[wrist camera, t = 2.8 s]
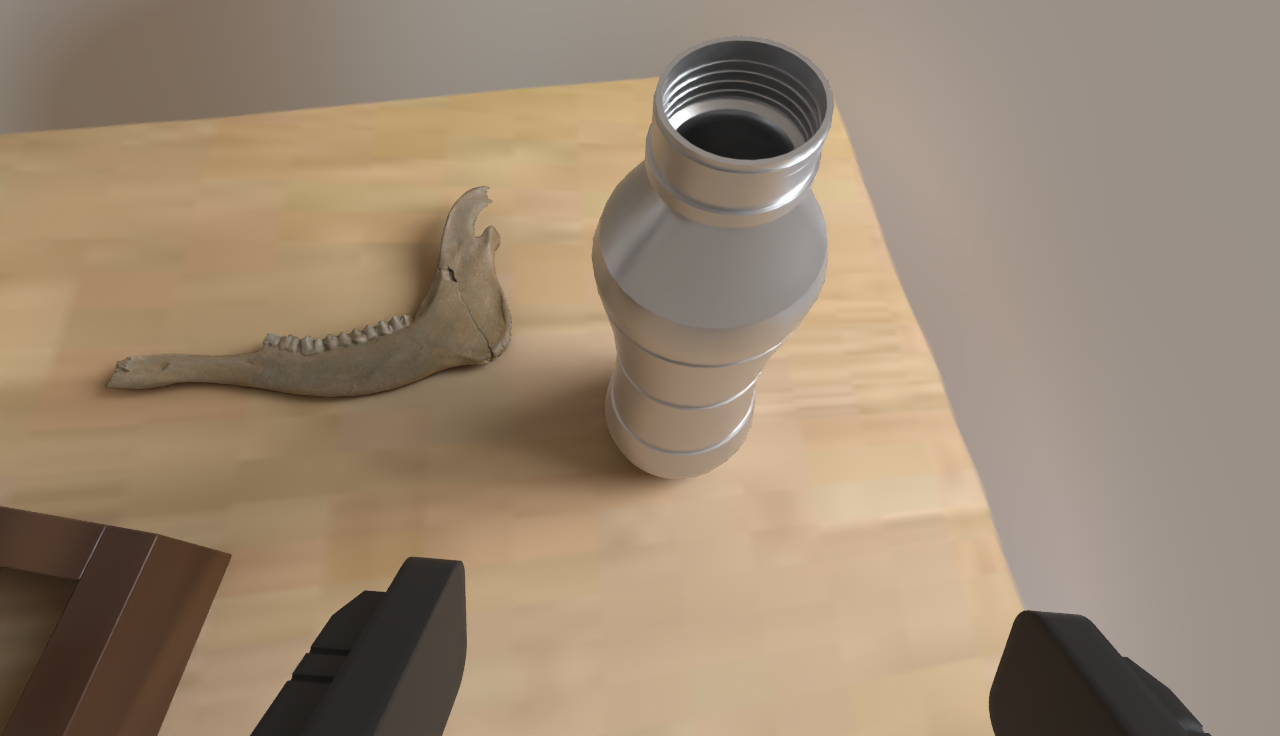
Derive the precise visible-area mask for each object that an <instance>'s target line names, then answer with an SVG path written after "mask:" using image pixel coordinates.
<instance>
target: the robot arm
mask: <svg viewBox="0 0 1280 736" xmlns="http://www.w3.org/2000/svg"><path fill="white" fill-rule="evenodd" d="M466 649H467V632H466V597H465V570H464V565H463V563H462V561H457V560H445V559H433V558H422V557H409V558H407V559H406V560H405V562H404V563H403V565H402V566H401V568H400V570H399V571H398V573H397V575H396V576H395V578H394V580H393V581H392V583H391V585H390V586H389V588H388V590H387V591H386V592H377V591H363V592H362V593H361V594H360V595H358V596H357V597H356V598H354V599H353V600H352V601H350V602H349V603H348V604H346V605H345V606H344V607H343V608H341V609H340V610H339V611H337V612H336V613H335V614H333V615H332V616H331V618H330V619H329V621H328V622H327V624H326V625H325V627H324V628H323V630H322V631H321V633H320V634H319V635H318V637H317V638H316V640H315V641H314V643H313V644H312V646H311V650H310V652H309V653H306V654H305V656H304V657H303V659H302V660H301V662H300V663H299V665H298V666H297V668H296V669H295V671H294V672H293V673H292V674H293V675H292V679H291V681H287V682H286V684H285V685H284V687H283V688H282V690H281V691H280V693H279V694H278V695H277V697H276V698H275V700H274V701H273V703H272V704H271V706H270V707H269V709H268V710H267V712H266V713H265V714H264V716H263V717H262V719H261V720H260V722H259V723H258V725H257V726H256V728H255V729H254V731H253V732H252V733H251V735H250V736H442V734H443V731H444V729H445V726H446V723H447V720H448V718H449V715H450V712H451V710H452V707H453V704H454V701H455V699H456V696H457V693H458V690H459V687H460V684H461V680H462V676H463V671H464V666H465V659H466ZM989 712H990V719H991V724H992V727H993V730H994V733H995V736H1211V735H1210V734H1209V733H1204V732H1203V729H1202V727H1203V726H1202V725H1201V724H1200V722H1199V721H1198V720H1197V719H1196V718H1195V717H1194V716H1193V715H1192V713H1190V711H1189V710H1188V709H1187V708H1186V707H1185V706H1184V704H1183V703H1182V702H1181V701H1180V700H1179V699H1178V698H1177V697H1176V696H1175V695H1174V693H1173V692H1172V691H1171V690H1170V689H1169V688H1168V687H1166V686H1165V685H1164V684H1162V683H1161V682H1160V681H1158V680H1157V679H1156V678H1154V677H1153V676H1152V675H1150V674H1149V673H1148V672H1146V671H1145V670H1144V669H1142V668H1141V667H1140V666H1138V665H1137V664H1136V663H1134V662H1133V661H1132V660H1130V659H1129V658H1128V657H1122V656H1121V655H1120V654H1119V653H1118V652H1117V650H1116V649H1115V648H1114V647H1113V646H1112V645H1111V643H1110V642H1109V641H1108V640H1107V639H1106V638H1105V636H1104V635H1103V634H1102V633H1101V632H1100V631H1099V630H1098V628H1097V627H1096V626H1095V625H1094V624H1093V623H1092V622H1091V621H1090V620H1089V619H1087V618H1086V617H1084V616H1082V615H1076V614H1064V613H1052V612H1039V611H1029V610H1027V611H1023V612H1021V613H1020V614H1018V616H1017V617H1016V619H1015V621H1014V623H1013V626H1012V629H1011V632H1010V635H1009V637H1008V640H1007V643H1006V646H1005V649H1004V652H1003V655H1002V658H1001V661H1000V664H999V666H998V669H997V672H996V675H995V678H994V681H993V684H992V687H991V690H990V696H989Z"/></svg>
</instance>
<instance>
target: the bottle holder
mask: <svg viewBox="0 0 1280 736" xmlns="http://www.w3.org/2000/svg"><path fill="white" fill-rule="evenodd" d="M231 556H232V555H231V554H228V553H225V552H221V551H217V550H214V549H210V548H207V547H203V546H199V545H196V544H192V543H188V542H185V541H181V540H178V539H174V538H170V537H167V536H163V535H159V534H155V533H149V532H143V531H138V530H132V529H127V528H121V527H115V526H110V525H109V526H108V525H104V524H98V523H93V522H87V521H81V520H76V519H70V518H64V517H59V516H53V515H48V514H42V513H36V512H31V511H25V510H19V509H14V508H8V507H3V506H0V566H1V567H6V568H12V569H17V570H23V571H28V572H34V573H39V574H45V575H50V576H55V577H61V578H66V579H72V580H77V581H79V583H78V585H77V587H76V589H75V591H74V593H73V595H72V597H71V599H70V601H69V603H68V605H67V607H66V609H65V611H64V613H63V615H62V617H61V619H60V621H59V623H58V625H57V627H56V629H55V631H54V633H53V635H52V637H51V639H50V641H49V643H48V645H47V647H46V649H45V651H44V652H43V654H42V656H41V658H40V660H39V662H38V664H37V666H36V668H35V670H34V672H33V674H32V676H31V678H30V680H29V682H28V684H27V686H26V688H25V690H24V692H23V694H22V696H21V698H20V700H19V702H18V704H17V706H16V708H15V710H14V712H13V714H12V716H11V718H10V720H9V722H8V724H7V726H6V728H5V730H4V732H3V734H2V736H157V734H158V732H159V730H160V727H161V725H162V722H163V720H164V717H165V715H166V713H167V710H168V708H169V705H170V703H171V701H172V698H173V696H174V693H175V691H176V689H177V686H178V684H179V681H180V679H181V676H182V674H183V672H184V669H185V667H186V664H187V662H188V660H189V657H190V655H191V652H192V650H193V648H194V645H195V643H196V640H197V638H198V635H199V633H200V631H201V628H202V626H203V623H204V621H205V619H206V616H207V614H208V611H209V609H210V607H211V604H212V602H213V599H214V597H215V594H216V592H217V590H218V587H219V585H220V582H221V580H222V578H223V575H224V573H225V570H226V568H227V566H228V563H229V561H230V558H231Z"/></svg>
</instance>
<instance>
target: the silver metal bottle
mask: <svg viewBox="0 0 1280 736" xmlns="http://www.w3.org/2000/svg"><path fill="white" fill-rule="evenodd" d="M833 109H834V102H833V93H832V90H831V88H830V85H829V82H828V80H827V79H826V77H825V76H824V74H823V73H822V71H821V70H820V69H819V68H818V67H817V66H816V65H815V64H814V63H813V62H812V61H811V60H810V59H808V58H807V57H805V56H804V55H803V54H801V53H800V52H798V51H796V50H794V49H792V48H790V47H788V46H786V45H784V44H781V43H778V42H774V41H771V40H768V39H762V38H756V37H743V36H732V37H724V38H716V39H713V40H709V41H705V42H702V43H699V44H697V45H695V46H692V47H690V48H688V49H687V50H685V51H684V52H682V53H681V54H679V55H678V56H676V57H675V58H674V59H673V60H672V61H671V62H670V63H669V64H668V65H667V67H666V68H665V70H664V71H663V73H662V74H661V76H660V78H659V81H658V84H657V88H656V91H655V94H654V101H653V116H652V123H651V125H650V128H649V131H648V134H647V137H646V150H645V160H644V161H642V162H641V163H640V164H639V165H638V166H637V167H635V168H634V169H633V170H632V171H631V172H629V173H628V175H627V176H626V177H625V178H624V179H623V180H622V181H621V182H620V183H619V184H618V185H617V186H616V188H615V189H614V191H613V192H612V194H611V196H610V197H609V199H608V201H607V203H606V205H605V207H604V210H603V212H602V215H601V217H600V219H599V222H598V225H597V228H596V231H595V234H594V237H593V247H592V262H593V269H594V276H595V280H596V284H597V289H598V293H599V295H600V298H601V300H602V303H603V305H604V308H605V311H606V314H607V316H608V319H609V322H610V324H611V327H612V330H613V332H614V337H615V343H616V350H617V358H616V365H615V369H614V371H613V373H612V376H611V379H610V382H609V386H608V390H607V393H606V398H605V417H606V424H607V426H608V429H609V432H610V434H611V437H612V438H613V440H614V442H615V443H616V445H617V446H618V448H619V449H620V451H621V452H622V453H623V455H624V456H625V457H626V458H627V459H628V460H629V461H630V462H631V463H632V464H634V465H635V466H637V467H638V468H640V469H641V470H643V471H645V472H647V473H649V474H652V475H654V476H657V477H662V478H667V479H686V478H692V477H697V476H700V475H702V474H705V473H708V472H710V471H711V470H713V469H714V468H716V467H718V466H719V465H721V464H722V463H724V462H726V461H727V460H728V459H729V458H730V457H731V456H732V455H733V454H735V453H736V452H737V451H738V449H739V448H740V446H741V445H742V444H743V442H744V441H745V439H746V437H747V435H748V432H749V430H750V428H751V424H752V419H753V413H754V406H755V386H756V382H757V378H758V377H759V375H760V373H761V371H762V370H763V368H764V367H765V365H766V363H767V362H768V360H769V358H770V357H771V356H772V355H773V354H774V353H775V352H776V350H777V349H778V348H779V347H780V346H781V345H782V344H783V343H784V342H785V340H786V339H787V338H788V337H789V336H790V335H791V334H792V332H793V331H795V330H796V328H797V327H798V326H799V324H800V323H801V322H802V320H803V319H804V317H805V316H806V315H807V313H808V312H809V310H810V309H811V307H812V305H813V304H814V303H815V301H816V300H817V298H818V296H819V293H820V291H821V288H822V286H823V284H824V281H825V276H826V269H827V263H828V243H827V231H826V223H825V220H824V217H823V214H822V211H821V208H820V205H819V204H818V202H817V200H816V198H815V196H814V194H813V192H812V190H811V188H810V187H811V185H812V183H813V181H814V178H815V176H816V173H817V171H818V168H819V164H820V158H821V149H822V146H823V144H824V141H825V139H826V136H827V134H828V132H829V129H830V127H831V121H832V115H833Z"/></svg>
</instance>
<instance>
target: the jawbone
mask: <svg viewBox="0 0 1280 736" xmlns="http://www.w3.org/2000/svg"><path fill="white" fill-rule="evenodd" d="M487 189H489V187H487V186H482V187H477V188H473V189H471V190H469V191H467V192H466V193H464V194H463V195H462V196H461V197H460V198H459V199H458V200H457V201H456V202H455V204H454V205H453V207H452V209H451V211H450V213H449V215H448V217H447V221H446V224H445V227H444V231H443V236H442V242H441V250H440V257H439V262H438V266H437V271H436V274H435V277H434V280H433V283H432V285H431V288H430V290H429V292H428V294H427V295H426V297H425V298H424V300H423V302H422V304H421V306H420V307H419V309H418V312H417V313H416V315H415V316H414V318H413V319H411V318H410V316H409V315H408V314H406V315H404V316H402V317H401V318H398V317H396V316H394V317H392V319H391V320H390V321H389V322H386V321H383V320H381V321H380V322H379V323H378V324H377V326H375V327H373V326H370V325H367V326H366V327H365V329H364V330H363V331H359V330H357V329H353V331H352V332H351V334H345V333H344V332H341V334H339V336H337V337H335V336H333V335H331V334H329V335H328V336H327V337H326V338H325V339H322V340H321V339H314V338H311V337H310V336H309V337H308V336H306V337H304V338H303V339H299V338H297V337H294V336H293V335H289V336H284V337H282V336H277V335H275V334H267V336H266V338H265V340H264V341H263V344H264V346H263V348H262V349H261V350H260V351H258V352H253V353H244V354H237V355H227V356H204V355H187V354H163V355H151V356H139V357H127V358H126V359H125V360H122V361H118V362H117V365H116V369H115V371H114V374H113V375H112V377H111V380H110V382H109V384H108V385H106V387H108V388H125V389H146V388H156V387H163V386H166V385H170V384H174V383H180V382H208V383H219V384H231V385H240V386H247V387H254V388H260V389H266V390H272V391H279V392H286V393H293V394H301V395H311V396H325V397H341V396H357V395H365V394H371V393H376V392H381V391H386V390H390V389H394V388H397V387H400V386H404V385H406V384H409V383H412V382H415V381H418V380H420V379H423V378H425V377H427V376H429V375H431V374H433V373H436V372H438V371H441V370H444V369H448V368H451V367H455V366H460V365H484V364H487V363H488V362H492V361H493V360H495V359H496V358H497V357H498V356H500V355H501V354H502V353H503V352H504V351H505V350H506V349H507V347H508V344H509V342H510V340H511V339H510V336H511V323H512V321H511V319H512V318H511V314H510V311H509V307H508V304H507V301H506V298H505V296H504V292H503V290H502V288H501V286H500V284H499V282H498V279H497V276H496V272H495V265H494V255H495V251H496V250H497V249H498V247H499V245H500V235H499V233H498V232H497V230H496V229H495V227H494V226H489V227H487V228H486V229H485V231H484V232H483V234H482V235H481V236H480V237H475V234H474V225H475V221H476V218H477V216H478V214H479V212H480V211H481V210H482V209H483V208H484V207H486V206H487V205H488V204H490V203H491V202H492V200H490V199H489V198H488V195H487Z"/></svg>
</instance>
